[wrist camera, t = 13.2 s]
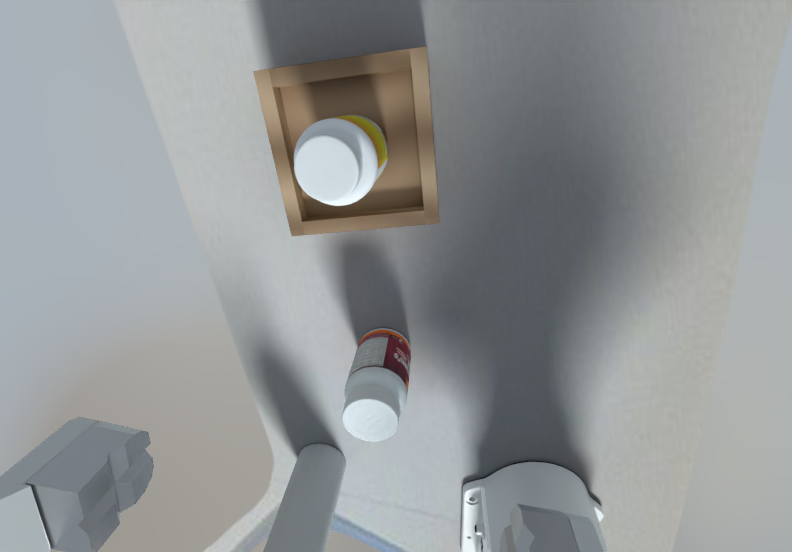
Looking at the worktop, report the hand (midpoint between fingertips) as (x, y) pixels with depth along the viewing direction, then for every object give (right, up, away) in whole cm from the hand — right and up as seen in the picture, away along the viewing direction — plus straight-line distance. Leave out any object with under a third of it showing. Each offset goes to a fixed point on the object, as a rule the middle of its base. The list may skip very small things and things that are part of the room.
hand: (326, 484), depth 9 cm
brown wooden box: (-1, +17, +27) cm, 32 cm away
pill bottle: (0, -4, +37) cm, 37 cm away
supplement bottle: (-2, +15, +24) cm, 28 cm away
